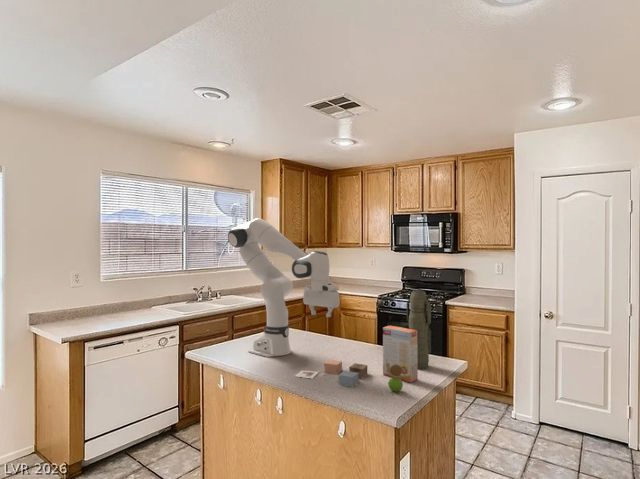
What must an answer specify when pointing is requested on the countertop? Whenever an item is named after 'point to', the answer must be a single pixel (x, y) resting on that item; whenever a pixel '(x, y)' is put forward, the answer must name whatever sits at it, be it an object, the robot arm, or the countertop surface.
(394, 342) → the cracker box
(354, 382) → the slate block
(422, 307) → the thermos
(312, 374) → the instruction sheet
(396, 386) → the snail figurine
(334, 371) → the terracotta block
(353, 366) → the base block
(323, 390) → the countertop surface
